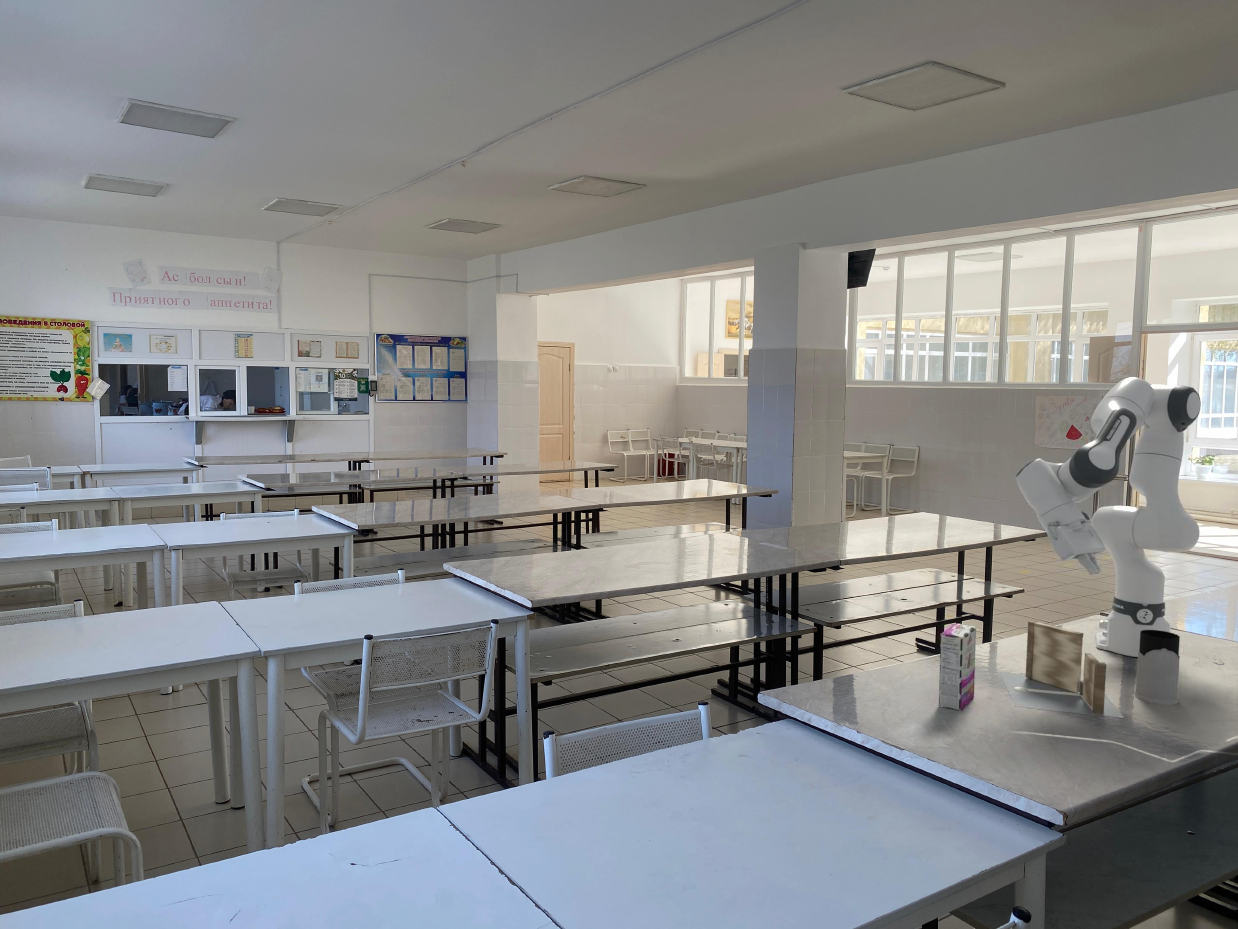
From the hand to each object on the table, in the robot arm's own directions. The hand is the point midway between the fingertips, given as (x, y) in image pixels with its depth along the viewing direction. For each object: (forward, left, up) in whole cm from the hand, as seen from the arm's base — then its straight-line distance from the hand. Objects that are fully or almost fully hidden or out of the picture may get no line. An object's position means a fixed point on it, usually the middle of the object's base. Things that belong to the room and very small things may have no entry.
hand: (1096, 573), depth 196 cm
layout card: (+9, -9, -27) cm, 30 cm away
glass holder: (+2, +12, -27) cm, 30 cm away
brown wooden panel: (+3, -9, -26) cm, 28 cm away
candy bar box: (+21, -31, -27) cm, 47 cm away
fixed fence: (+14, -3, -27) cm, 30 cm away
